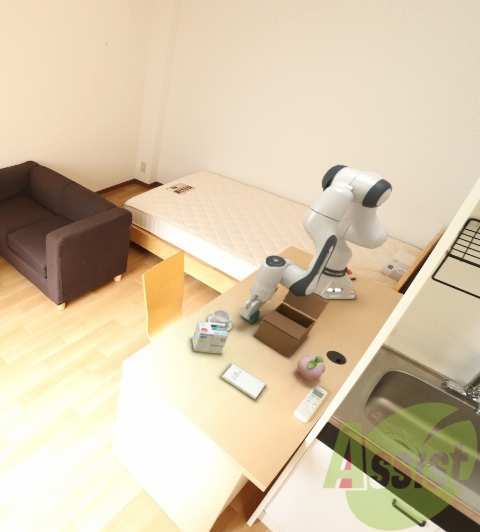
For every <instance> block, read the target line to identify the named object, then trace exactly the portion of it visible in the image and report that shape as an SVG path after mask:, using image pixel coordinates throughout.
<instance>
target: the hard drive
mask: <svg viewBox="0 0 480 532" xmlns="http://www.w3.org/2000/svg"><path fill="white" fill-rule="evenodd" d="M221 379H223V380H224V381H226V382H228V383H229V384H231V385H232V386H234V387H235V388H236V389H238V390H239V391H241V392H242V393H244V394H245V395H247V396H249V397H250V398H251V399H253V400H256V399H257V398H258V396H259V395H260V393H261V392H262V391H263V389H264V388H265V386H266V383H265V382H263V381H261V380H260V379H258V378H257V377H255V376H254V375H252V374H251V373H249V372H247V371H246V370H244V369H242V368H240V367H239V366H238V365H236V364H234V363H232V364H231V365H230V366H229V367H228V369H227V370H226V371H225V372H224V373H223V374H222V377H221Z"/></svg>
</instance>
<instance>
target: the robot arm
mask: <svg viewBox="0 0 480 532" xmlns="http://www.w3.org/2000/svg"><path fill="white" fill-rule="evenodd" d="M321 188H322V192H321V193H320V195H319V196H318V197H317V198H316V199H315V200H314V201H313V203H312V204H311V205H310V207H309V209H308V210H307V212H306V213H305V215H304V217H303V219H302V227H303V230H304V232H305V234H306V235H307V236H308V237H309V239H310V240H311V242H312V243H313V245H314V249H315V253H314V255H313V257H312V258H311V261H310V263H309V265H308V267H307V268H306V269H304V268H303V267H301V266H299V265H298V264H297V263H295V262H294V261H292V260H291V259H289V258H287V257H282V256H279V255H269V256H266V258H265V259H264V260H263V261H262V262H261V264H260V266H259V268H258V270H257V272H256V274H255V275H256V277H255V279H254V280H253V281H252V284H251V286H250V288H249V294H250V297H249V298H248V299H247V300H246V301H245V302H244V304H243V306H242V307H241V310H240V311H239V315H240V316H241V317H244V318H246V319H247V320H249V319H250V318H251V315H252V314H254V313H255V312H256V311H257V310H259V311H260V309H261V308H262V307H263V306H264V305H265V304H267V303H268V302H269V301H271V300H272V299H273V297H274V295H275V293H277V291H278V290H279V286H278V285H279V284H280V285H282V286H283V287H284V288H286V289H287V290H288V292H289V291H290V292H292V293H293V294H294V295H295V296H298V297H304V296H309V295H311V294H316V295H318V296H320V298H322V299H324V300H354V299H355V297H356V293H355V291H354V290H353V289H354V283H353V281H354V280H356V279H357V277H352V278H350V276H351V275H352V274H353V271H351V269H349V268H348V264H349V263H350V261H351V259H352V257H353V250H352V248H351V247H350V246H349V245H348V243H347V242H349V243H350V244H353V245H356V246H358V247H362V248H365V249H369V250H374V249H378V248H380V247H381V246H383V245H384V244H385V243H386V241H387V239H388V230H387V228H385V227H384V226H383V225H382V224H381V222H380V219H379V218H378V215H377V209H378V207H380V206H381V205H382V204H384V203H386V201H387V200H389V198H390V197H391V193H392V191H393V187H392V184H391V182H389V181H388V180H387V179H384V178H383V176H382V175H381V174H380V173H378V172H375V171H363V170H361V169H357V168H353V167H349V166H348V165H344V164H336V165H334V166H331V167H330V168H329V169H327V171H326V172H325V173H324V175H323V177H322V179H321ZM244 318H243V319H244ZM247 320H246V321H247Z"/></svg>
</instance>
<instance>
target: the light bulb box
mask: <svg viewBox="0 0 480 532" xmlns="http://www.w3.org/2000/svg"><path fill="white" fill-rule="evenodd" d="M228 338H229V333H228V331H227V330H226V327H225V323H212V322H208V321H201V320H198V321H197V322H196V326H195V329H194V332H193V336H192V339H191V342H192V346H193V351H194V352H200V353H208V354H209V353H210V354H217V355H218V354H220V355H221V354H222V353H223V350H224V347H225V345H226V343H227V340H228Z"/></svg>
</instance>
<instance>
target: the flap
mask: <svg viewBox="0 0 480 532" xmlns="http://www.w3.org/2000/svg"><path fill="white" fill-rule="evenodd" d="M282 303H283V304H285V305H287V306H289V307H291V308H293V309H295V310H296V311H298V312H300V313H302V314H304V315H306V316H307V317H309V318H311V319H313V320H315V321H318V319H319V317H320V316H321V314H322V313H323V312H324V311H325V309H326V307H327V306H328V304H329V301H327V300H326V299H324V298H322V297H319V296H317V295H315V294H314V293H312V294H311V295H309V296H304V297H298V296H295V295H294V294H293V293H292V292H290V291H289V290H288V291H287V294H286V295H285V296H284V298H283V300H282Z"/></svg>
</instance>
